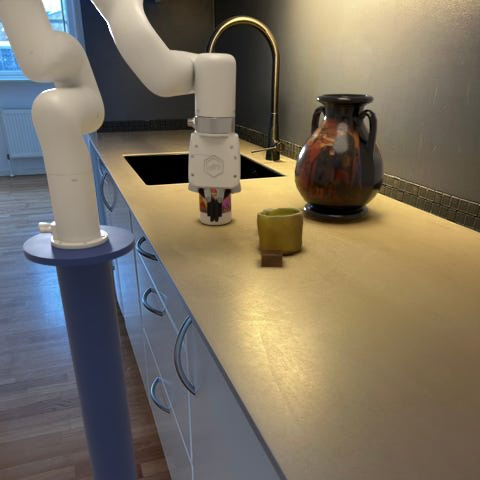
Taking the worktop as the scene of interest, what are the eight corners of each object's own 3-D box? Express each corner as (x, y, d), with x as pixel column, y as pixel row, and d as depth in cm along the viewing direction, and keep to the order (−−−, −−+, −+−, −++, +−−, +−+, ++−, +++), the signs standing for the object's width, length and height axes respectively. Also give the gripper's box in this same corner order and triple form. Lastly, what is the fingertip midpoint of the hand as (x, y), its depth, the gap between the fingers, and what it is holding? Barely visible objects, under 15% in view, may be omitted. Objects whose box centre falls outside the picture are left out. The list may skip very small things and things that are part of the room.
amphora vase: (396, 217, 128) (413, 95, 115) (339, 233, 116) (350, 100, 103) (332, 200, 143) (340, 91, 130) (275, 213, 131) (278, 95, 118)
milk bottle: (197, 217, 128) (194, 133, 119) (228, 216, 129) (227, 132, 120) (202, 226, 121) (199, 138, 112) (234, 224, 123) (233, 137, 113)
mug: (318, 247, 101) (303, 199, 99) (270, 266, 101) (253, 218, 98) (303, 240, 113) (289, 197, 110) (260, 256, 113) (245, 213, 110)
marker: (261, 266, 98) (261, 254, 97) (261, 261, 100) (261, 249, 99) (282, 266, 98) (282, 255, 97) (281, 261, 100) (281, 249, 99)
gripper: (173, 127, 94) (176, 224, 103) (254, 129, 94) (250, 226, 102) (178, 122, 101) (181, 213, 109) (254, 125, 101) (250, 216, 109)
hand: (214, 219), depth 106 cm, fingers closed
